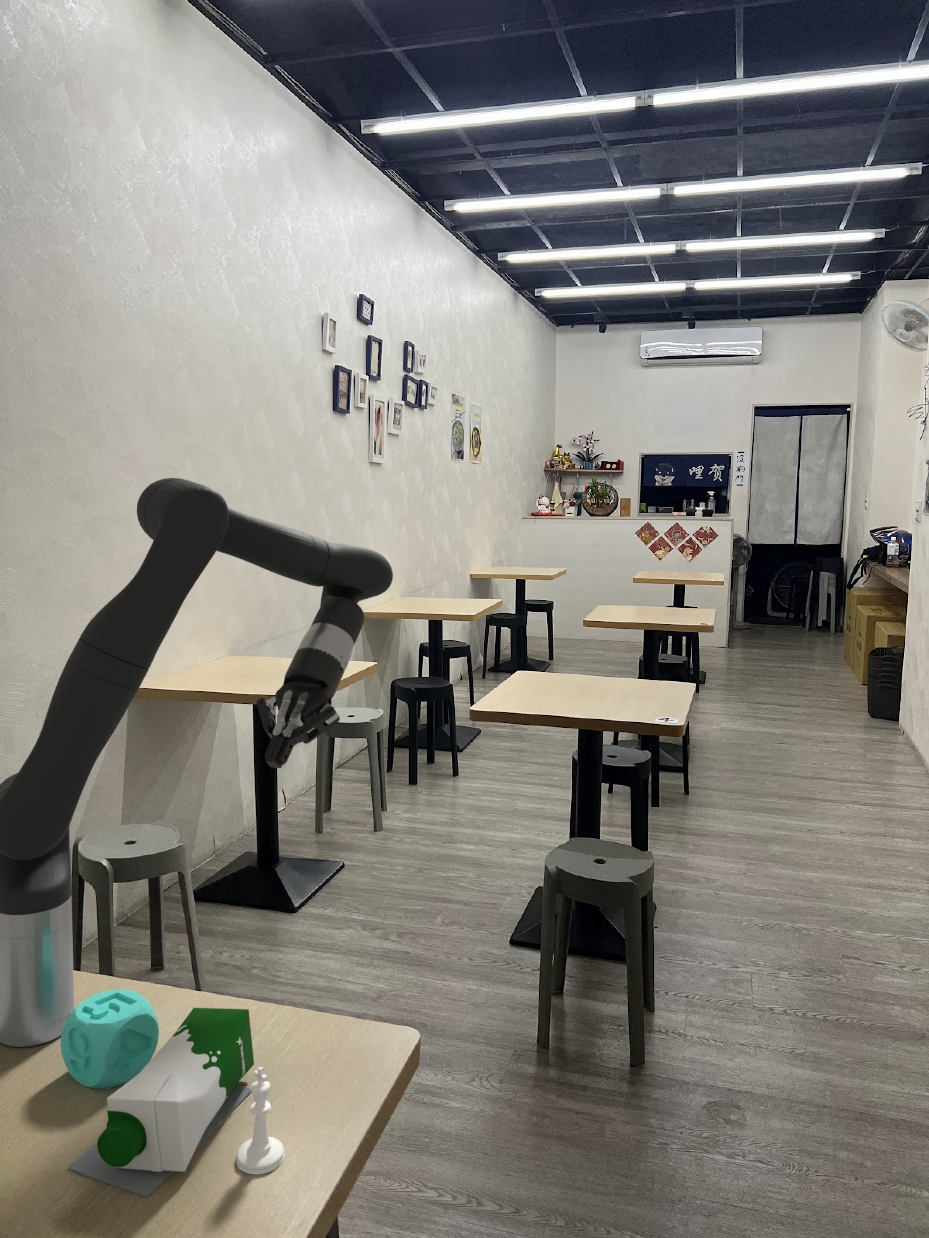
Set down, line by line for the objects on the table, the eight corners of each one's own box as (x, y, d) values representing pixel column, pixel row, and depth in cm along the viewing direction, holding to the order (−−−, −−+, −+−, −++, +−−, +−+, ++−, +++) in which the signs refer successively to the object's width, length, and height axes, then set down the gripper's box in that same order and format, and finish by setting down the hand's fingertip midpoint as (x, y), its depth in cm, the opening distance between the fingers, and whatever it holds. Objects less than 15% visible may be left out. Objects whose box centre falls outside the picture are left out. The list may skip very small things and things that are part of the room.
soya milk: (186, 999, 108) (88, 1105, 89) (256, 1001, 107) (172, 1109, 87) (193, 1068, 109) (98, 1188, 90) (263, 1071, 107) (182, 1194, 88)
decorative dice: (160, 1062, 110) (159, 1000, 109) (105, 1097, 103) (104, 1031, 102) (116, 1042, 114) (115, 982, 113) (60, 1075, 107) (58, 1011, 106)
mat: (67, 1169, 92) (67, 1167, 92) (182, 1069, 108) (182, 1068, 108) (147, 1197, 88) (147, 1195, 88) (252, 1090, 105) (252, 1088, 105)
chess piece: (264, 1134, 98) (264, 1048, 96) (294, 1156, 94) (294, 1066, 93) (226, 1159, 94) (226, 1069, 93) (256, 1182, 91) (256, 1089, 90)
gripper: (271, 642, 130) (219, 744, 120) (352, 649, 125) (305, 756, 115) (290, 673, 136) (242, 772, 126) (369, 681, 131) (325, 785, 121)
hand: (272, 764), depth 121 cm, fingers closed
